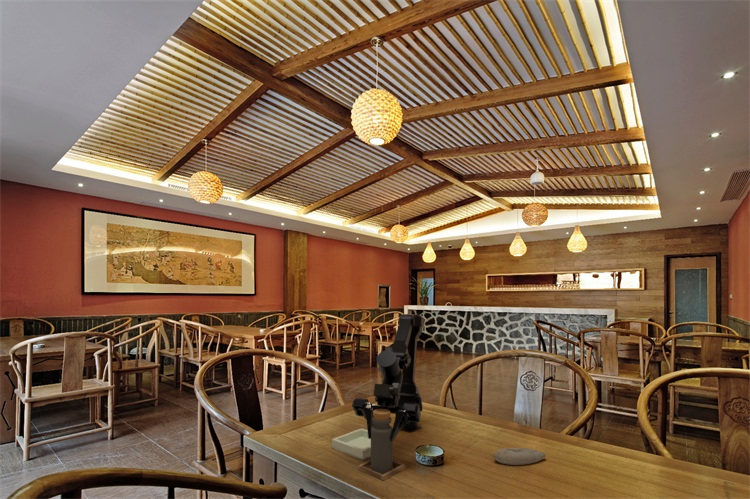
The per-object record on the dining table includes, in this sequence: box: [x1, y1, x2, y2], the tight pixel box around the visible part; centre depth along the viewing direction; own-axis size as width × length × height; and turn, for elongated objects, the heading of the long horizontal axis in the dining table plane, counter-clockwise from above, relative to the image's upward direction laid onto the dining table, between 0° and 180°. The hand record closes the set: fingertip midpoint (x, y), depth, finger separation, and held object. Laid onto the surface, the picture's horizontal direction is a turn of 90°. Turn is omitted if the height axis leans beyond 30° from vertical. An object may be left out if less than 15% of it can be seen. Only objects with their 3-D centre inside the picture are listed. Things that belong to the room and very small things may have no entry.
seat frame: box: [357, 459, 406, 481], centre depth 108 cm, size 9×9×1 cm
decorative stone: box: [492, 447, 546, 466], centre depth 114 cm, size 6×16×3 cm, turn 101°
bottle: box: [370, 409, 394, 474], centre depth 109 cm, size 6×6×15 cm
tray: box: [331, 428, 371, 461], centre depth 123 cm, size 13×13×2 cm
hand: (380, 439), depth 108 cm, fingers closed on bottle, 6 cm apart
